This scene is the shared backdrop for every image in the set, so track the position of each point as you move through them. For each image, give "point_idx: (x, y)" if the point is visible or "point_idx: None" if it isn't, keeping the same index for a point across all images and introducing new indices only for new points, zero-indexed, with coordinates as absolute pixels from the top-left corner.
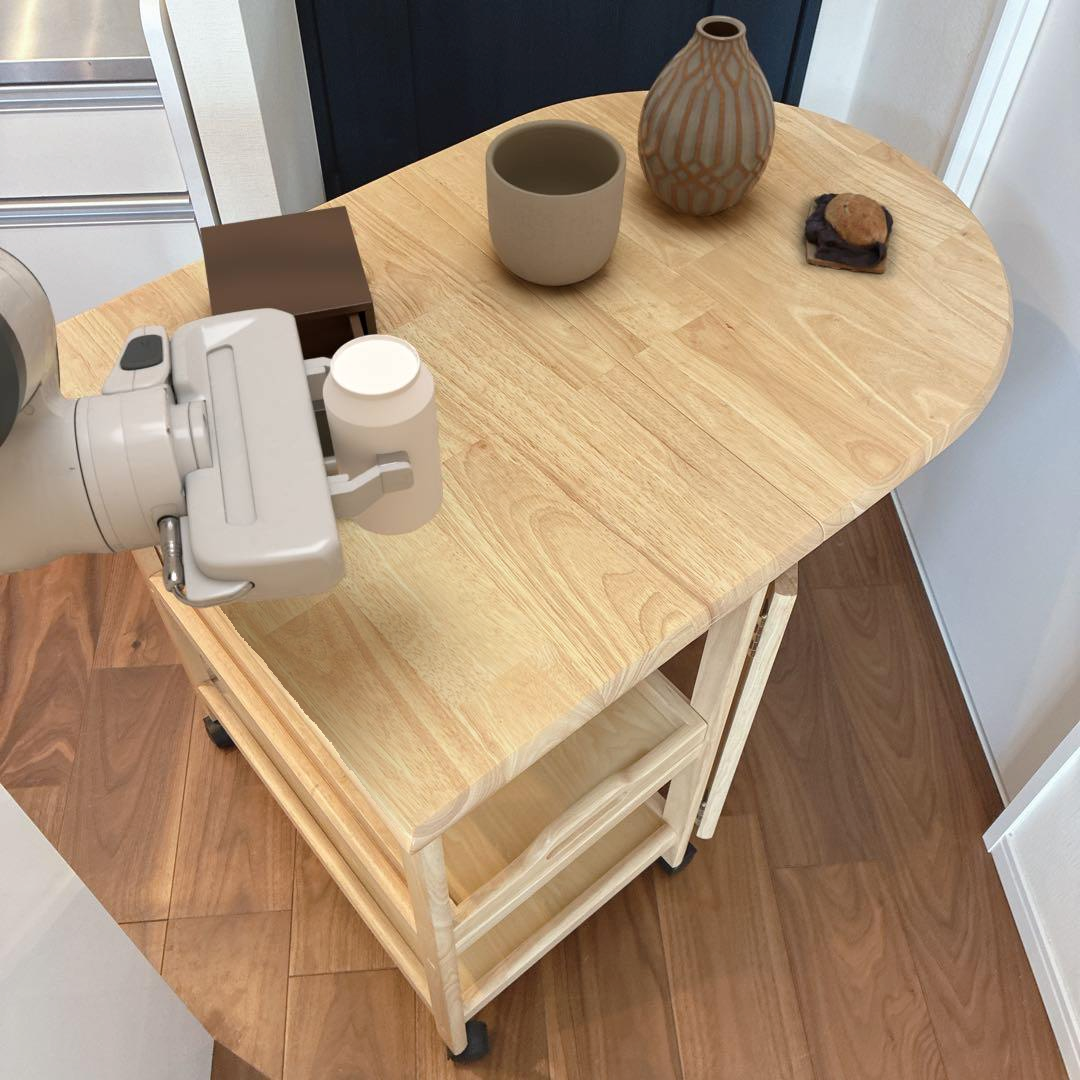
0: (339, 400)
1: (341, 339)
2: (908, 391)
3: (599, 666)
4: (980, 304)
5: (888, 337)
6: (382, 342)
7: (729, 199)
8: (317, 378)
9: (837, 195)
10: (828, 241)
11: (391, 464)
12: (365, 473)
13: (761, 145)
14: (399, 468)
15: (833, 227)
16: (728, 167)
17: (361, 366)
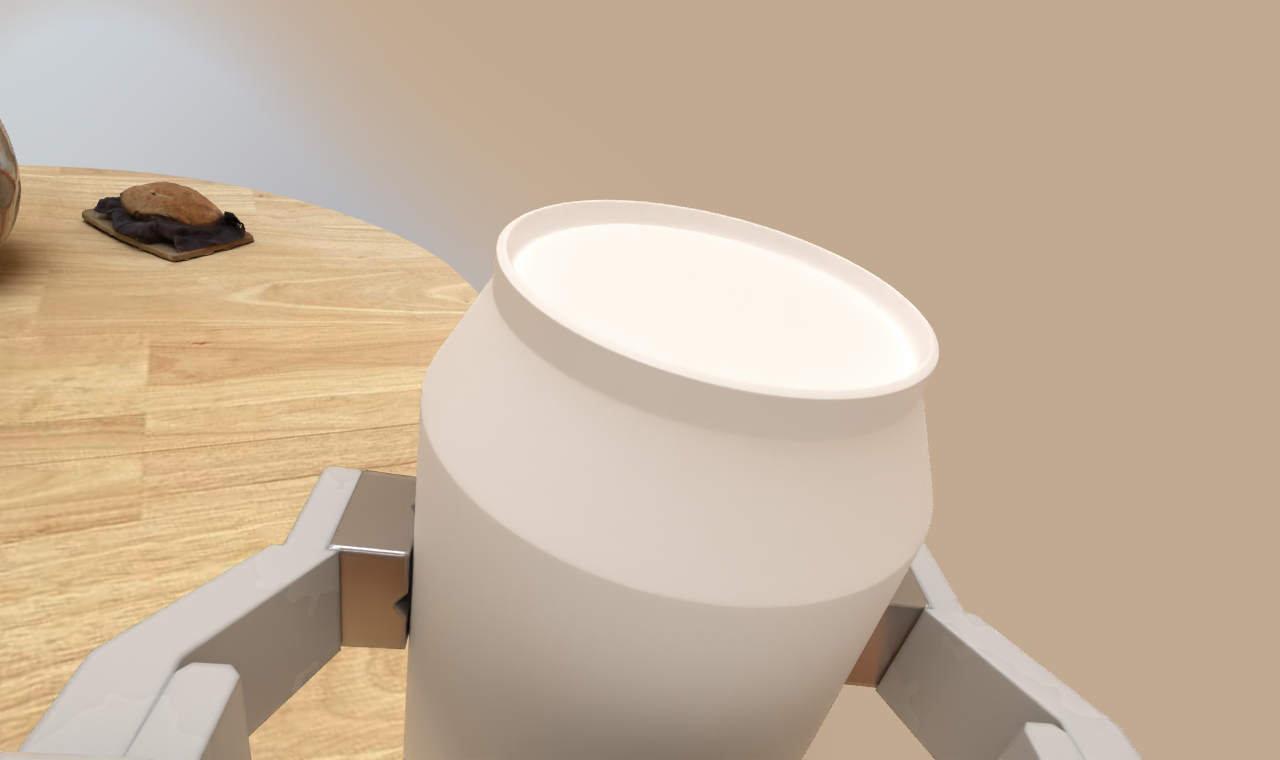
0: (871, 490)
1: None
2: (424, 296)
3: None
4: (356, 228)
5: (344, 275)
6: (550, 243)
7: (5, 228)
8: (223, 744)
9: (122, 193)
10: (178, 230)
11: (912, 570)
12: (992, 656)
13: (7, 138)
14: (928, 554)
15: (166, 216)
16: None
17: (708, 319)
